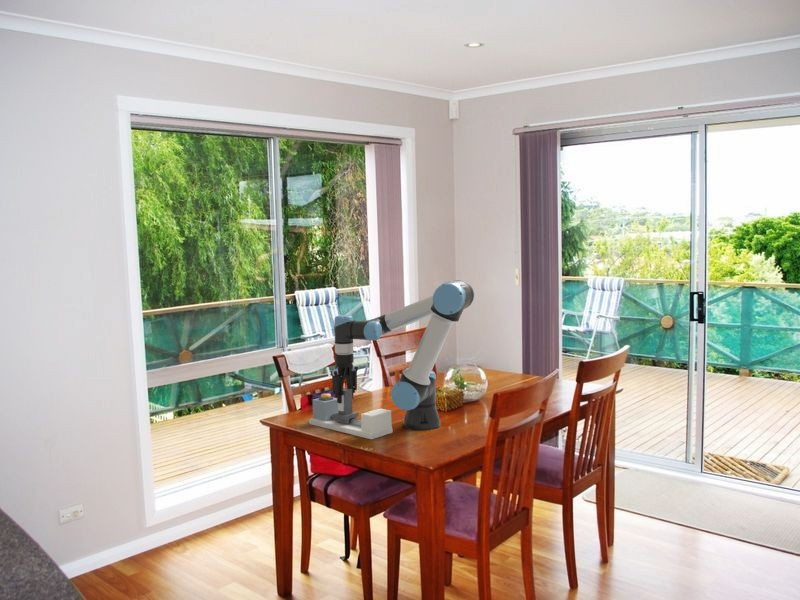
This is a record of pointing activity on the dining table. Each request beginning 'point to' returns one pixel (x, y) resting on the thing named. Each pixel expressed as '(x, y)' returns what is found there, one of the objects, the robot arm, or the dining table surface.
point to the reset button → (325, 397)
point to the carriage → (346, 408)
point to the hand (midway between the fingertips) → (345, 409)
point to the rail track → (347, 428)
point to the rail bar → (351, 421)
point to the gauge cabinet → (324, 409)
